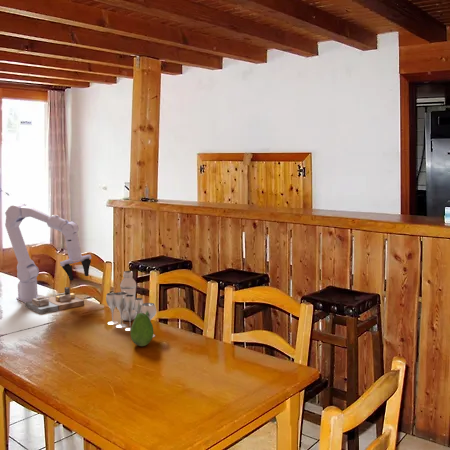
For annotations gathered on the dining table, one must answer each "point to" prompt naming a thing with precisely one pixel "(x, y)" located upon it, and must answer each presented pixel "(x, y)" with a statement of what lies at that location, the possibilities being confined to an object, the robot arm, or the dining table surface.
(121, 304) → the goblet set
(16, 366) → the dining table surface
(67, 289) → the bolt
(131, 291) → the plastic bottle
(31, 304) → the two-tone tabbed panel
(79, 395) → the dining table surface
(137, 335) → the avocado
